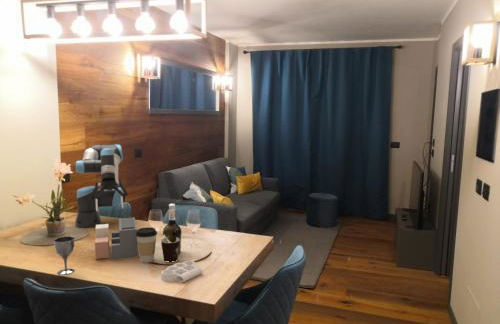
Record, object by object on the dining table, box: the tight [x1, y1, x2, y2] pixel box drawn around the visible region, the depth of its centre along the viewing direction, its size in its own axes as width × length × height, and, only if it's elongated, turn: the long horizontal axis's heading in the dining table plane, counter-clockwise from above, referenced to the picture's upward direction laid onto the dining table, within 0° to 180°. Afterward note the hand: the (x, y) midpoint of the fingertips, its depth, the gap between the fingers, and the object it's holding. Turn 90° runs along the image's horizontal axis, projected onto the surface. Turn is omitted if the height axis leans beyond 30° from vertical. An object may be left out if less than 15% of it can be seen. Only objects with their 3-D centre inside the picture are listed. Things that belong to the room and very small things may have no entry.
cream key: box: [94, 223, 110, 241], centre depth 205 cm, size 7×6×12 cm
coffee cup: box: [136, 226, 158, 264], centre depth 190 cm, size 10×10×15 cm
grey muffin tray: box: [160, 260, 204, 283], centre depth 176 cm, size 3×18×15 cm
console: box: [110, 216, 139, 260], centre depth 203 cm, size 22×12×15 cm, turn 18°
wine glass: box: [53, 235, 76, 276], centre depth 177 cm, size 8×8×15 cm
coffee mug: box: [160, 237, 180, 262], centre depth 193 cm, size 12×9×10 cm
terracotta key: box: [94, 237, 110, 260], centre depth 196 cm, size 7×6×8 cm
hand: (109, 209), depth 224 cm, fingers open, 13 cm apart
